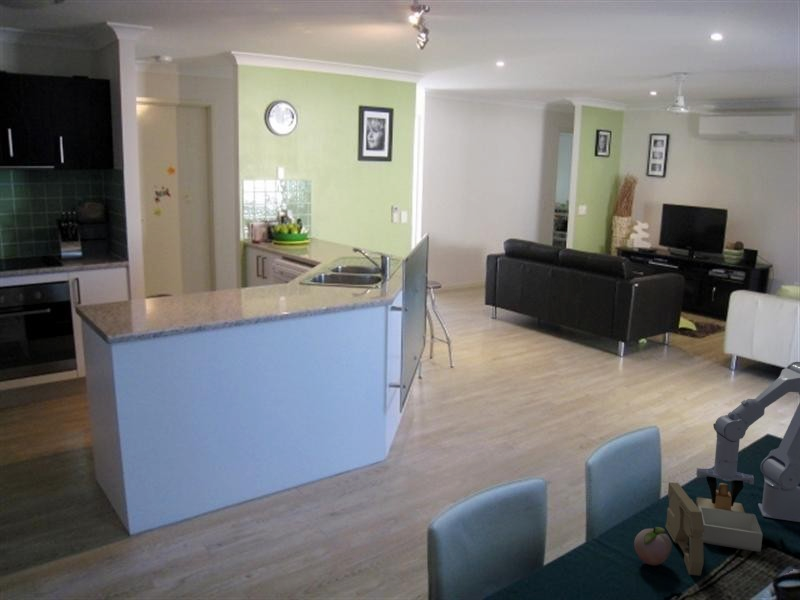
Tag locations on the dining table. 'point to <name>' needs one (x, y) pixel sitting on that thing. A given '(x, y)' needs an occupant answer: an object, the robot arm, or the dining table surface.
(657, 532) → the decorative fruit
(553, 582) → the dining table surface
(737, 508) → the stud board
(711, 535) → the bin
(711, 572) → the dining table surface
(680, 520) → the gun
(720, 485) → the orange knobbed block
